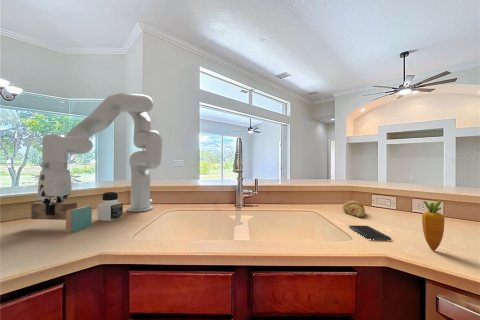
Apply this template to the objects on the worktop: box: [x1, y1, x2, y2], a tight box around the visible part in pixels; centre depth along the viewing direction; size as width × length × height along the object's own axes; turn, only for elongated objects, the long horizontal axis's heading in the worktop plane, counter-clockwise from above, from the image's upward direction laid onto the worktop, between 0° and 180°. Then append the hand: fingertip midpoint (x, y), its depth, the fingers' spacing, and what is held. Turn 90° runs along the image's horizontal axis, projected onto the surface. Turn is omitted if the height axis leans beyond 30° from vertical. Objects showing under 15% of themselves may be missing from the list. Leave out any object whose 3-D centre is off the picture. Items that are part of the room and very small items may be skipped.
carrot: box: [421, 200, 445, 251], centre depth 64 cm, size 5×5×15 cm
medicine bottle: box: [96, 191, 124, 222], centre depth 98 cm, size 7×7×12 cm
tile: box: [65, 205, 93, 234], centre depth 83 cm, size 3×9×8 cm, turn 175°
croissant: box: [342, 199, 366, 218], centre depth 112 cm, size 21×10×8 cm, turn 170°
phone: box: [348, 225, 392, 241], centre depth 80 cm, size 8×1×15 cm
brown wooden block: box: [30, 201, 78, 221], centre depth 84 cm, size 16×3×6 cm, turn 85°
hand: (54, 213), depth 84 cm, fingers closed on brown wooden block, 2 cm apart
